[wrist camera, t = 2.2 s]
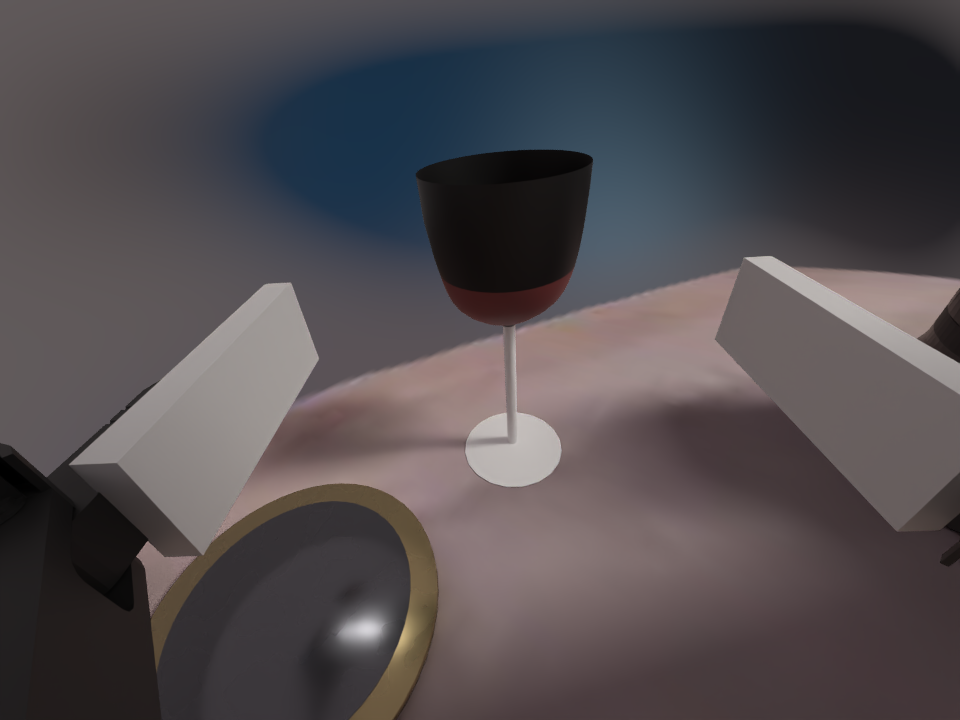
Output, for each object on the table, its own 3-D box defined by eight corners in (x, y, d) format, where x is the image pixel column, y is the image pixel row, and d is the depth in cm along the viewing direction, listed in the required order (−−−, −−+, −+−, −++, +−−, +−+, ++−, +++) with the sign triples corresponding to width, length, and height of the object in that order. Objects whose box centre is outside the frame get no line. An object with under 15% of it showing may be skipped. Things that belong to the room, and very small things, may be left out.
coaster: (407, 460, 30) (406, 454, 29) (478, 720, 17) (477, 716, 17) (175, 536, 26) (170, 531, 25) (51, 942, 13) (38, 943, 13)
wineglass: (438, 450, 30) (382, 174, 18) (513, 395, 35) (506, 146, 23) (512, 514, 25) (499, 194, 13) (588, 441, 30) (628, 154, 18)
